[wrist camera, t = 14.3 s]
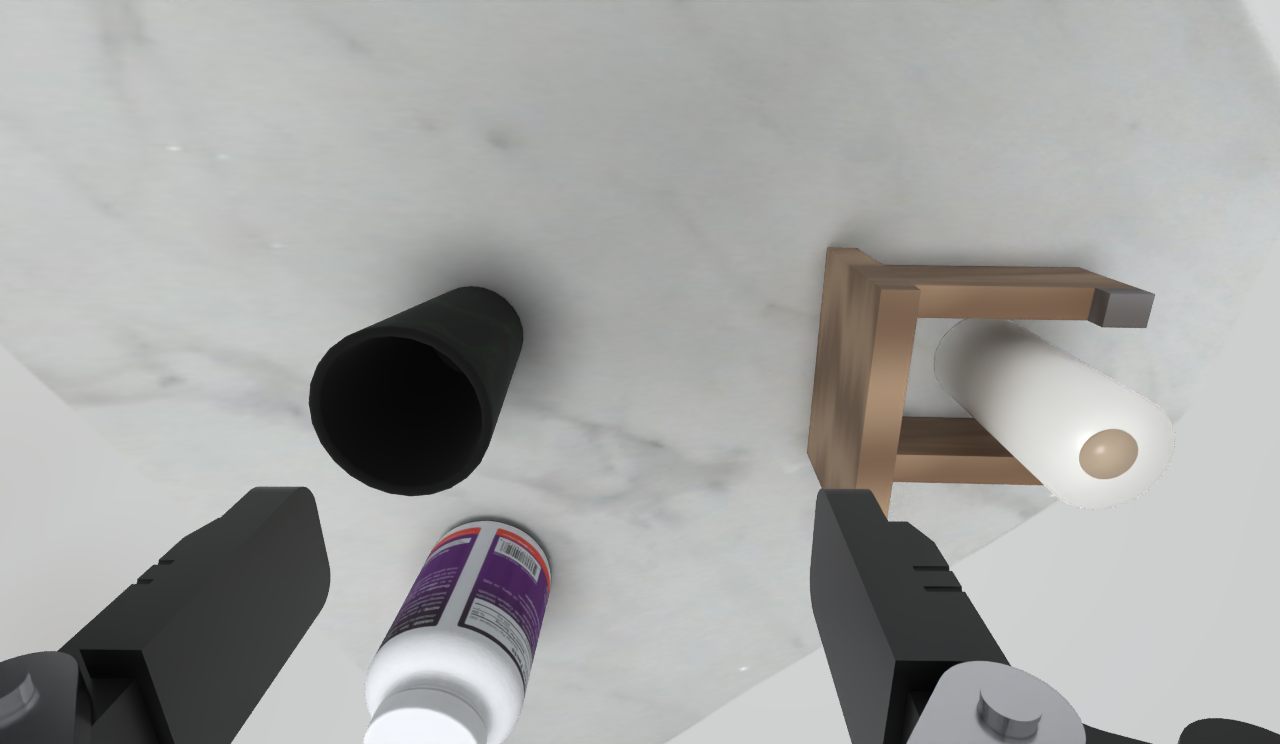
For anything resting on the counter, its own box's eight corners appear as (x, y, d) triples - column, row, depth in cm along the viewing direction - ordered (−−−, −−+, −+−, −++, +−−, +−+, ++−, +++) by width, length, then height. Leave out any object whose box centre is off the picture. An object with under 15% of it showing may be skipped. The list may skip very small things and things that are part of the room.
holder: (827, 247, 37) (881, 289, 28) (1082, 251, 37) (1224, 294, 28) (807, 453, 42) (848, 549, 32) (1035, 458, 41) (1145, 557, 32)
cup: (558, 296, 39) (514, 367, 28) (518, 412, 41) (463, 520, 30) (428, 247, 38) (327, 299, 27) (395, 368, 41) (291, 461, 29)
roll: (941, 313, 38) (1057, 394, 27) (1036, 315, 38) (1193, 396, 27) (927, 400, 40) (1031, 509, 29) (1018, 401, 40) (1158, 512, 29)
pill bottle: (434, 611, 47) (338, 810, 33) (430, 508, 44) (325, 679, 30) (552, 621, 47) (506, 825, 33) (557, 519, 44) (507, 695, 30)
